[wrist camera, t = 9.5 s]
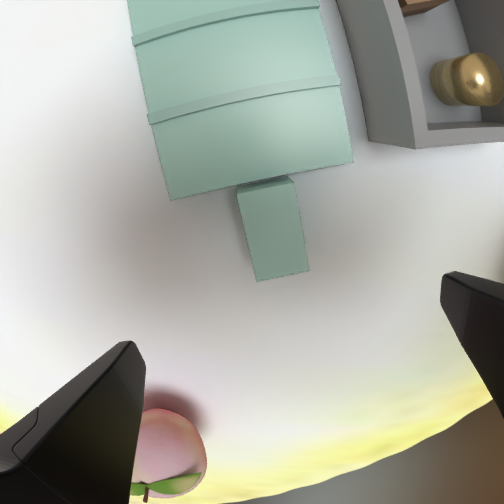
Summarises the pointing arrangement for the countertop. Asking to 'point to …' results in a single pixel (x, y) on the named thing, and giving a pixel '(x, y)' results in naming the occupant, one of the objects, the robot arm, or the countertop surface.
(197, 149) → the lid
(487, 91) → the round knob
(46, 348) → the countertop surface
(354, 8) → the tub
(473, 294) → the robot arm
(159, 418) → the decorative fruit
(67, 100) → the countertop surface
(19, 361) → the countertop surface
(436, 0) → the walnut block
